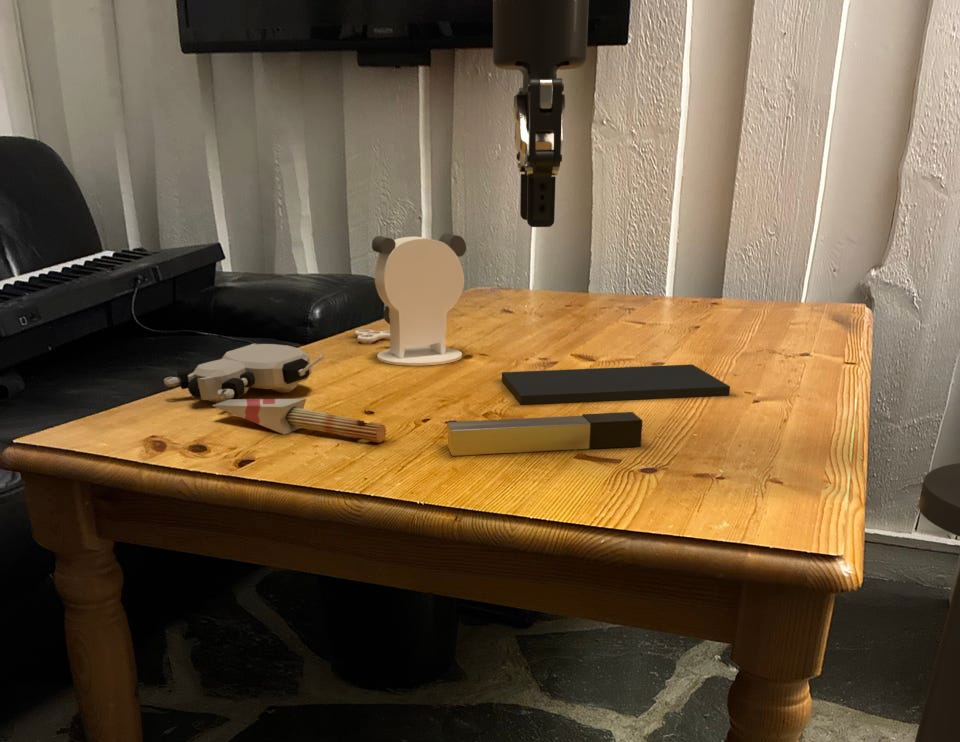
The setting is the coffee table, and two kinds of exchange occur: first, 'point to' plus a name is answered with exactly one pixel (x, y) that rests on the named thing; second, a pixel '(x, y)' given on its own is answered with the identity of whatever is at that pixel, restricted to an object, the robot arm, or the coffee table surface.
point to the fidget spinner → (371, 335)
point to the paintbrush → (300, 418)
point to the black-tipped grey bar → (544, 434)
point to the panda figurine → (419, 296)
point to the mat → (612, 384)
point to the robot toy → (246, 372)
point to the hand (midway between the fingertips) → (536, 223)
